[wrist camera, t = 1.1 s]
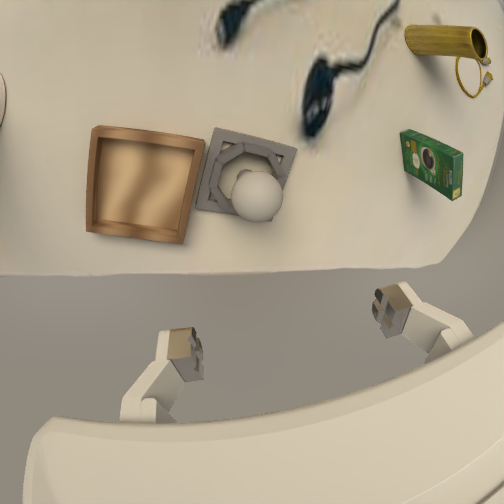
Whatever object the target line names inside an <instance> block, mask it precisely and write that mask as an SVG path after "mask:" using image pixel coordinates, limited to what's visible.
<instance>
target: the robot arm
mask: <svg viewBox="0 0 504 504" xmlns="http://www.w3.org/2000/svg"><path fill="white" fill-rule="evenodd" d="M4 109H5V86H4V81H3V78H2V76H1V74H0V125H1V122H2V118H3V114H4ZM375 297H376V299H375V300H374V301H373V305H372V312H373V315H374V318H375V320H376V321H377V322H379V323H381V327H380V329H381V330H382V332H383V334H384V336H385V337H386V338H389V337H392V336H396V335H399V334H402V335H403V336H404V337H405V338H407V339H409V340H410V341H411V342H413V343H414V344H416V345H417V346H419V347H420V348H421V349H423V350H424V351H426V352H427V353H428V354H429V355H428V356H427V358H426V360H425V362H424V365H422V366H420V367H417V368H415V369H413V370H410V371H408V372H406V373H403V374H401V375H399V376H396V377H393V378H391V379H389V380H386V381H383V382H380V383H378V384H375V385H372V386H370V387H367V388H363V389H360V390H358V391H354V392H351V393H348V394H345V395H342V396H338V397H335V398H331V399H328V400H324V401H320V402H316V403H312V404H308V405H304V406H300V407H296V408H291V409H286V410H281V411H276V412H271V413H265V414H260V415H253V416H247V417H240V418H232V419H224V420H214V421H203V422H189V423H178V422H177V421H176V420H175V419H174V418H173V417H172V416H171V415H170V414H169V413H168V412H169V411H170V409H171V407H172V405H173V404H174V402H175V400H176V399H177V397H178V395H179V393H180V392H181V390H182V388H183V387H184V385H185V382H190V381H197V380H203V379H204V378H203V376H204V375H203V366H202V363H201V361H202V360H203V350H202V345H201V342H200V340H199V338H197V337H196V331H195V329H194V328H193V327H190V328H182V329H172V330H165V331H160V332H159V335H158V342H157V350H156V359H155V361H153V362H151V363H150V365H149V366H148V367H147V368H146V370H145V371H144V372H143V373H142V374H141V376H140V377H139V378H138V379H137V381H136V382H135V383H134V384H133V386H132V387H131V388H130V389H129V391H128V392H127V393H126V394H125V395H124V397H123V399H122V406H121V413H120V421H119V423H117V422H103V421H93V420H84V419H76V418H69V417H62V416H54V417H52V418H51V419H50V420H48V421H47V422H46V423H45V424H44V425H43V426H42V427H41V428H40V430H39V431H38V432H37V433H36V434H35V436H34V437H33V440H32V442H31V445H30V448H29V453H28V458H27V463H26V469H25V478H24V486H23V504H504V320H503V321H501V322H500V323H498V324H497V325H495V326H494V327H492V328H490V329H489V330H487V331H486V332H484V333H483V334H481V335H479V336H477V337H476V338H475V337H474V336H473V334H472V333H471V332H470V330H469V329H468V328H467V326H466V325H465V323H464V322H463V321H462V320H460V319H458V318H456V317H454V316H452V315H450V314H448V313H446V312H444V311H442V310H440V309H438V308H436V307H434V306H432V305H430V304H428V303H425V302H424V303H422V302H421V300H420V299H419V298H418V296H417V295H416V294H415V292H414V291H413V290H412V289H411V287H410V286H409V285H408V284H407V282H405V281H402V282H398V283H395V284H391V285H388V286H385V287H381V288H377V289H376V291H375Z"/></svg>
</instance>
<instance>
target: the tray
mask: <svg viewBox="0 0 504 504" xmlns="http://www.w3.org/2000/svg"><path fill="white" fill-rule="evenodd" d="M204 145H205V142H204V140H203V139H198V138H192V137H187V136H181V135H175V134H168V133H162V132H155V131H147V130H140V129H131V128H122V127H112V126H100V125H99V126H97V127H95V128H93V129H92V132H91V140H90V149H89V159H88V172H87V190H86V232H93V233H101V234H108V235H116V236H123V237H131V238H138V239H146V240H153V241H161V242H168V243H176V244H183V242H184V236H185V231H186V226H187V221H188V216H189V211H190V206H191V201H192V197H193V192H194V187H195V183H196V179H197V174H198V170H199V166H200V162H201V158H202V153H203V149H204Z"/></svg>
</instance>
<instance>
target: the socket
mask: <svg viewBox="0 0 504 504" xmlns="http://www.w3.org/2000/svg"><path fill="white" fill-rule="evenodd" d="M223 141H226V142H231V143H235V144H233V145H231V146H230V147H228V148H226V149H225V150H223V151H221V147H222V144H223ZM220 151H221V152H220ZM296 151H297V149H296V148H294V147H291V146H287V145H284V144H280V143H277V142H273V141H270V140H266V139H262V138H258V137H254V136H250V135H246V134H242V133H238V132H234V131H229V130H225V129H220V128H216V127H215V128H214V132H213V135H212V139H211V143H210V147H209V151H208V155H207V159H206V163H205V167H204V171H203V175H202V179H201V183H200V188H199V192H198V197H197V201H196V206H195V208H196V209H202V210H209V211H215V212H221V213H227V214H233V215H239V214H238V213H237V212H236V211H235V209H234V207H233V204H232V200H231V199H227V198H226V197H225V195H224V194H223V192H222V191H221V189H220V188H219V186H218V185H217V184H218V181H219V177H220V173H221V169H222V166H223V164H224V163H226V162H228V161H229V160H231V159H233V158H234V157H236V156H238V155H240V154H241V153H243V152H249V153H253V154H257V155H261V156H265V157H266V158H267V160H268V162H269V164H270V166H271V167H272V169H273V171H274V172H273V175H272V176H273V177H274V178H275V179H276V180H277V181H278V183H279V184H280V186H281V189H282V191H283V188H284V185H285V182H286V179H287V177H288V174H289V171H290V168H291V165H292V162H293V159H294V157H295V154H296ZM274 153H276V154H279V155H282V158H281V161H280V163H279V161H278V159H277V157H276V155H275V154H274ZM210 191H211V193H212V194H213V195H214V197H215V198H216V200H213V199H208V198H209V193H210ZM239 216H240V215H239ZM272 219H273V217H272V218H270V219H268V221H272Z"/></svg>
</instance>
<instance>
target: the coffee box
mask: <svg viewBox="0 0 504 504" xmlns="http://www.w3.org/2000/svg"><path fill="white" fill-rule="evenodd" d="M400 135H401V143H402V150H403V159H404V160H403V161H404V170H405V171H406V172H408V173H409V174H411V175H413V176H415V177H416V178H418V179H420V180H421V181H423V182H425V183H426V184H428V185H429V186H431V187H432V188H434V189H435V190H437V191H438V192H440V193H441V194H443V195H444V196H446V197H447V198H448V199H450V200H451V201H454V200H455V199H457V198H459V197H460V196H461V195H462V179H463V152H461V151H458V150H456V149H454V148H452V147H450V146H448V145H446V144H444V143H442V142H440V141H437V140H435V139H433V138H430V137H428V136H426V135H424V134H421V133H418V132H416V131H413V130H410V129H408V130H405V131H401V132H400Z"/></svg>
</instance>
